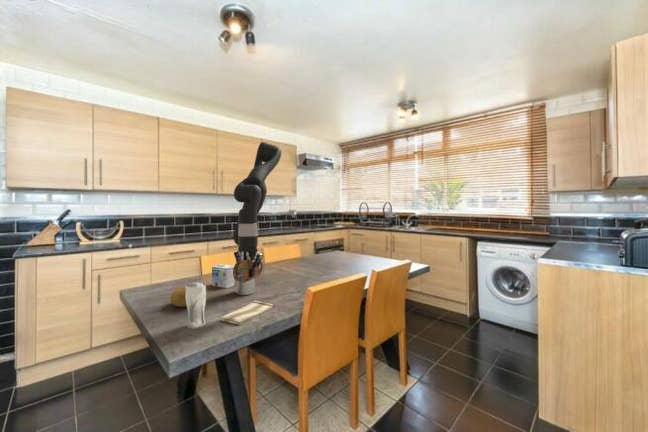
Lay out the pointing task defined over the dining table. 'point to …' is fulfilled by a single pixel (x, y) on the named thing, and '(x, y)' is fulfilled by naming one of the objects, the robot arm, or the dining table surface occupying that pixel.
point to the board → (246, 312)
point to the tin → (245, 271)
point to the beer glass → (196, 304)
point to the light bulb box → (222, 276)
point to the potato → (179, 296)
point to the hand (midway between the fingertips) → (248, 276)
